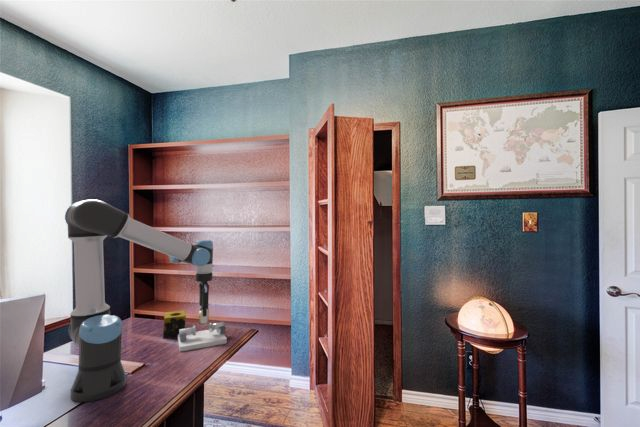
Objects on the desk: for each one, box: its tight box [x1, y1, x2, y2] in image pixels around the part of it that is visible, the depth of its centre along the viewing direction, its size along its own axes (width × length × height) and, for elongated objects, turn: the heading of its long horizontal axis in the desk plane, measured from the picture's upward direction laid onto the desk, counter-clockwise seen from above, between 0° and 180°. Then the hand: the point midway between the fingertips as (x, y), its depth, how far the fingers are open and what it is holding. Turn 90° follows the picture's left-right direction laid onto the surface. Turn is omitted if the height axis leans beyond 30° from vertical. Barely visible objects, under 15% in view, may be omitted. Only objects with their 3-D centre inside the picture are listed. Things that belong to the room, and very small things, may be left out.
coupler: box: [198, 308, 210, 326], centre depth 143 cm, size 5×5×7 cm
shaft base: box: [177, 325, 228, 352], centre depth 142 cm, size 20×16×8 cm
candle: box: [162, 310, 187, 339], centre depth 151 cm, size 10×10×10 cm
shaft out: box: [208, 321, 226, 335], centre depth 146 cm, size 7×5×6 cm
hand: (203, 320), depth 143 cm, fingers closed on coupler, 4 cm apart
